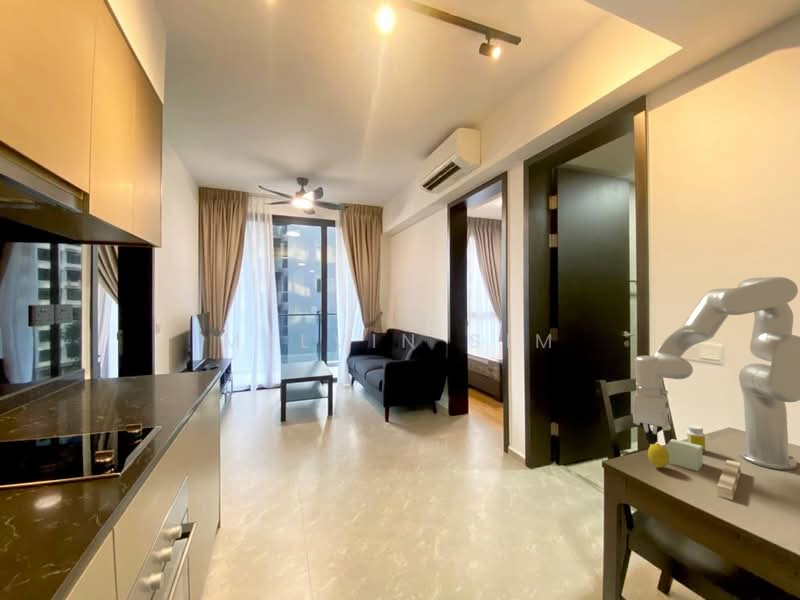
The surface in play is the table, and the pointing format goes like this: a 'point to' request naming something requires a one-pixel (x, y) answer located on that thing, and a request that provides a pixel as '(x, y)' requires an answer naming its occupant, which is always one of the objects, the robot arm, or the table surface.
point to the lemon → (658, 455)
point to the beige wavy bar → (729, 480)
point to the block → (685, 454)
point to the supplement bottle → (696, 436)
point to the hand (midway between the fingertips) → (652, 443)
